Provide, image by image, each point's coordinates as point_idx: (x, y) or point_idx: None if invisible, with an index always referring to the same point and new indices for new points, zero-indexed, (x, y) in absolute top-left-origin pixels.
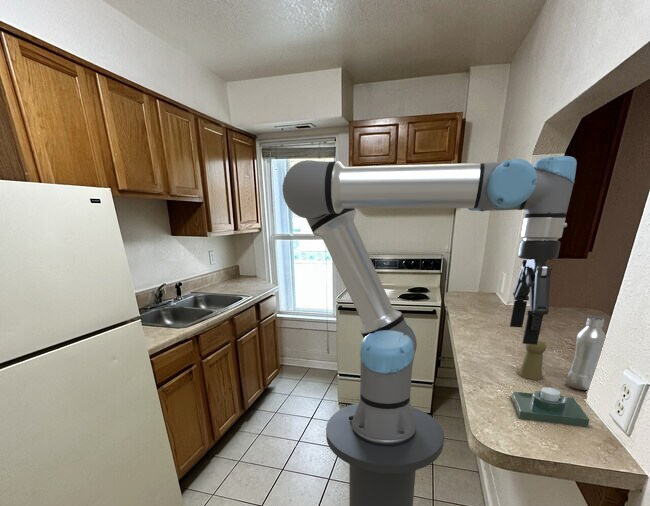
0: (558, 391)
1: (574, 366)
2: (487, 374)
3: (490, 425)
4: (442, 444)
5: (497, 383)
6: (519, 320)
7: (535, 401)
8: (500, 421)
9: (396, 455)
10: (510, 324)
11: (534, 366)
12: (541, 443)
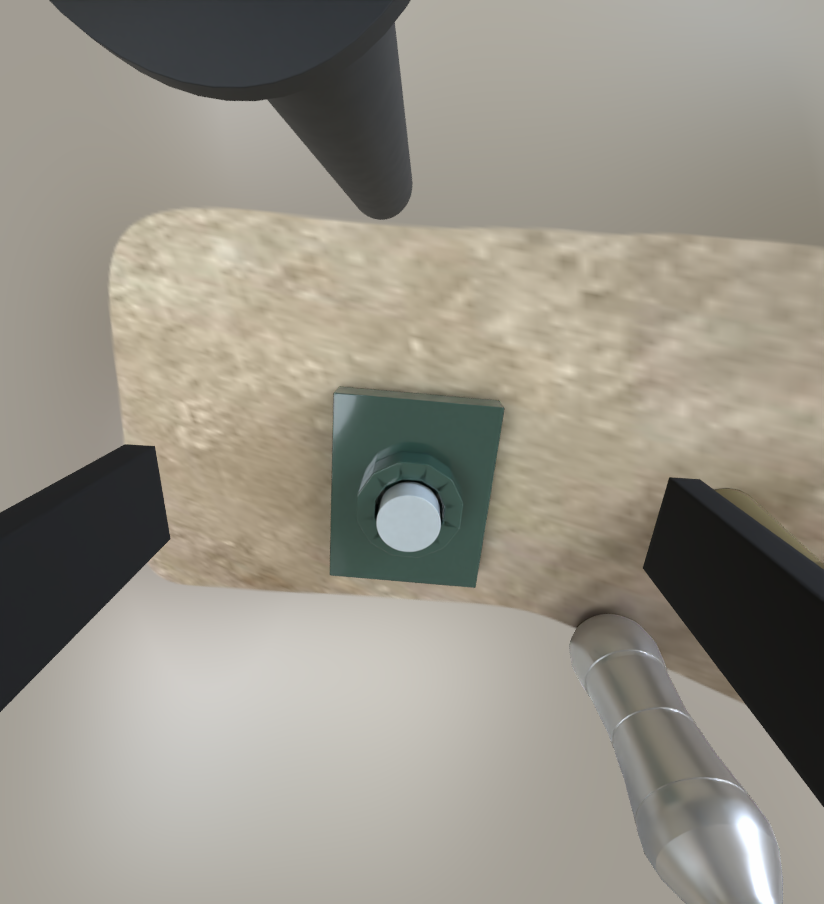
0: (408, 547)
1: (634, 674)
2: (743, 358)
3: (264, 271)
4: (166, 78)
5: (639, 380)
6: (689, 582)
7: (392, 459)
8: (303, 315)
9: None
10: (692, 487)
11: None
12: (199, 409)
